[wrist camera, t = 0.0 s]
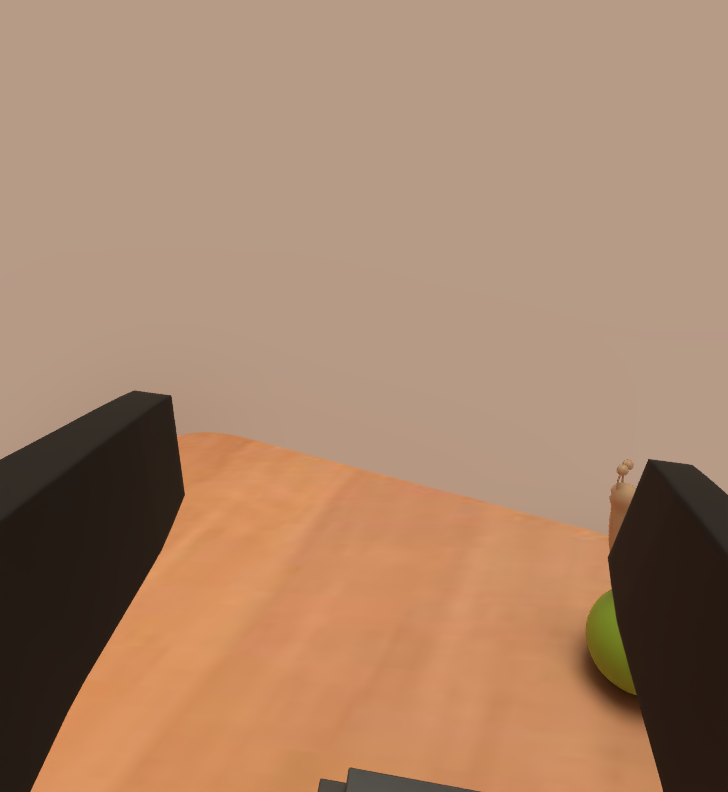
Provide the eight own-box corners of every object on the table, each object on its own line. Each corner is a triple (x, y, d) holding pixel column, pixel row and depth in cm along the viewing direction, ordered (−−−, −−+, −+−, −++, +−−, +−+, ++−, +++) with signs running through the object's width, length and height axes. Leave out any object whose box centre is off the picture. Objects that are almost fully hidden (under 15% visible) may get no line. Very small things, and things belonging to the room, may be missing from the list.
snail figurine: (583, 607, 36) (641, 440, 30) (694, 674, 32) (783, 498, 27) (541, 661, 32) (597, 482, 27) (661, 743, 29) (756, 556, 23)
